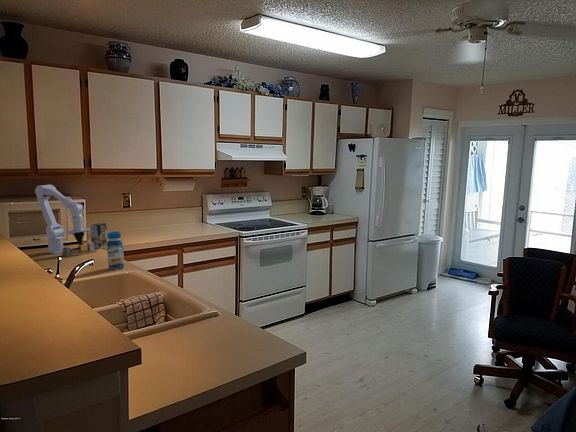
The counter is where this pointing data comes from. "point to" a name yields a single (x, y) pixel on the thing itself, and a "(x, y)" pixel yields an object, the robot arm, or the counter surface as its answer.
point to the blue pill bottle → (115, 250)
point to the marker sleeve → (82, 247)
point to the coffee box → (99, 235)
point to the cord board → (69, 253)
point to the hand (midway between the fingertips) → (79, 244)
